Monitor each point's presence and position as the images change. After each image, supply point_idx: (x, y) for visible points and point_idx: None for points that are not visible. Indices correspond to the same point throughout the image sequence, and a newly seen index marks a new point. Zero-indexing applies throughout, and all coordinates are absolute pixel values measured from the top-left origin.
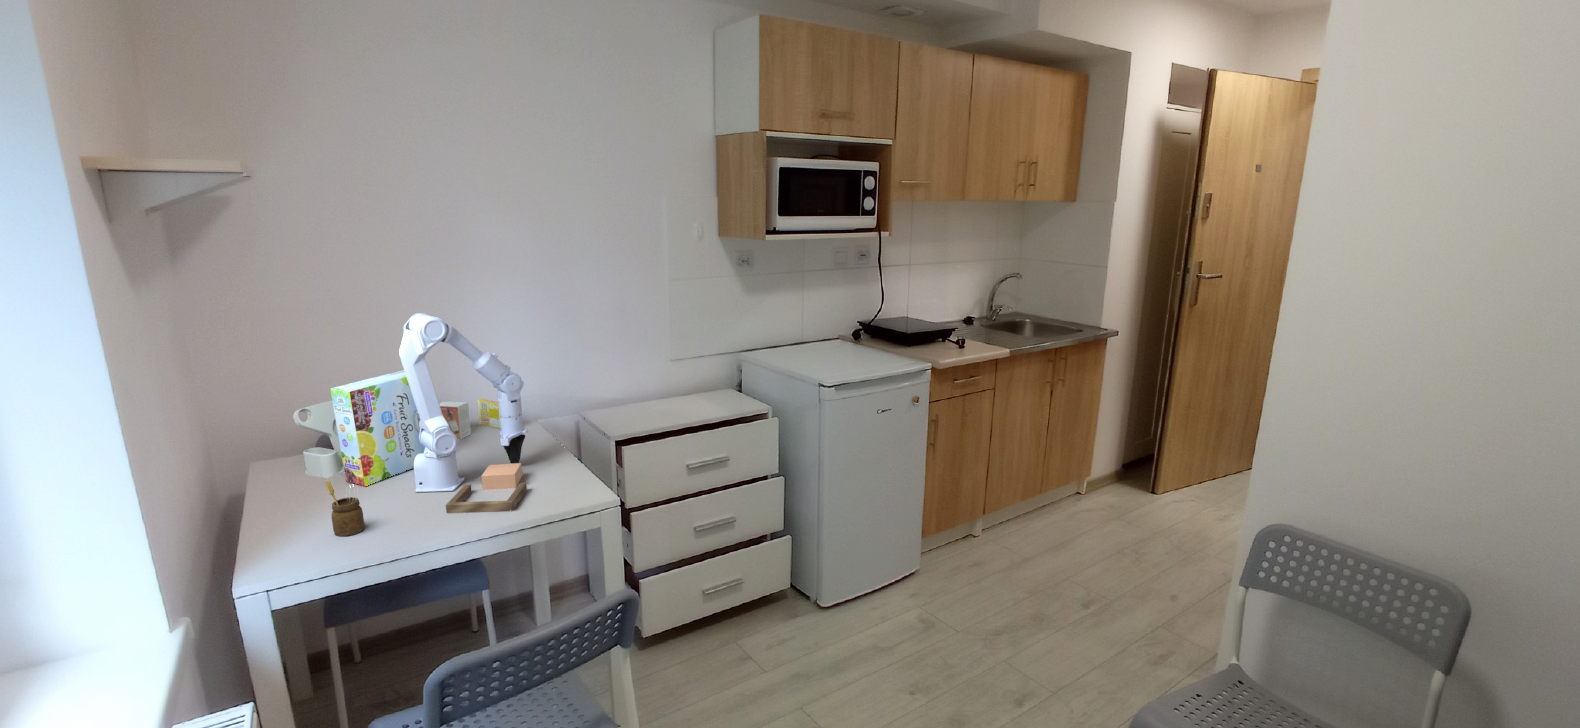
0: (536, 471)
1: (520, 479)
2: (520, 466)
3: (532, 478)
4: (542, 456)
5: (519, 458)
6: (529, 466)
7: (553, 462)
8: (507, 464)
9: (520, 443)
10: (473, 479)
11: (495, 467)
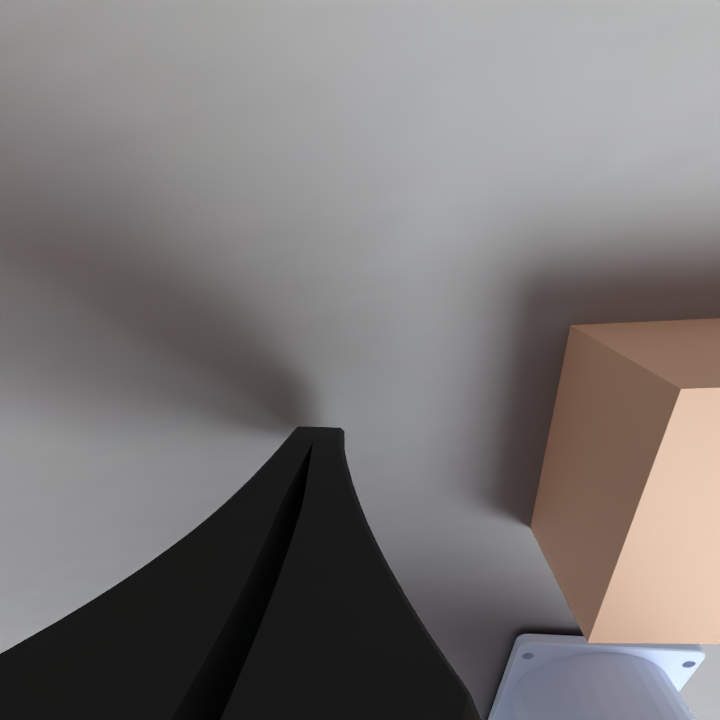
0: (460, 214)
1: (656, 321)
2: (707, 373)
3: (671, 206)
4: (22, 260)
5: (314, 444)
6: (307, 321)
7: (175, 64)
8: (651, 521)
9: (406, 668)
10: (520, 597)
11: (696, 595)
